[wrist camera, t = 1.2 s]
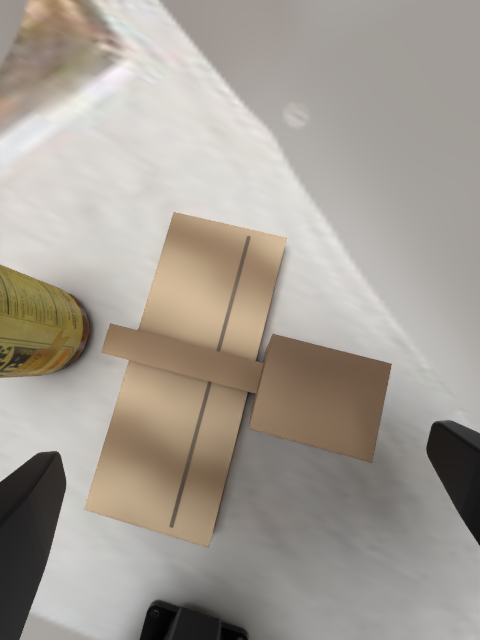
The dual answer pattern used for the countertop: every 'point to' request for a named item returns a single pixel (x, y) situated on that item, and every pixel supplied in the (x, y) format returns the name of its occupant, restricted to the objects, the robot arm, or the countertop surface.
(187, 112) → the countertop surface
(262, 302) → the board
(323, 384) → the gauge
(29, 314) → the sauce bottle
